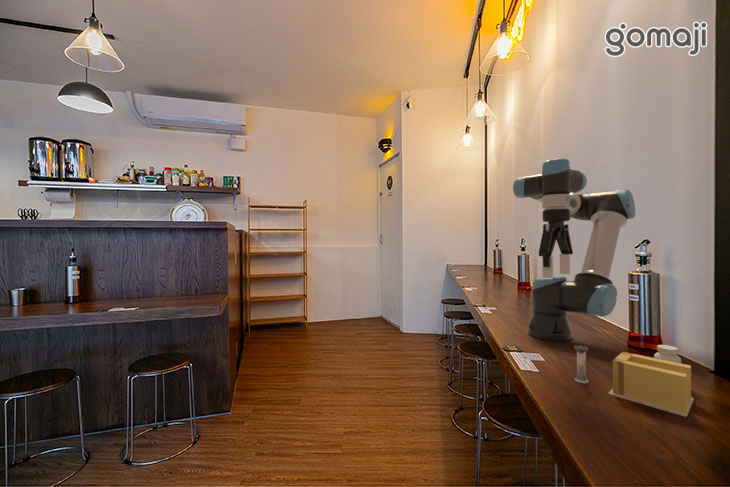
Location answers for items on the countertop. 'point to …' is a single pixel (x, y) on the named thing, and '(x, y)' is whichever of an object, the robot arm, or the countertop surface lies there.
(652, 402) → the c link
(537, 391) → the countertop surface
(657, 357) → the pill bottle
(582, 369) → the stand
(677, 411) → the felt mat
